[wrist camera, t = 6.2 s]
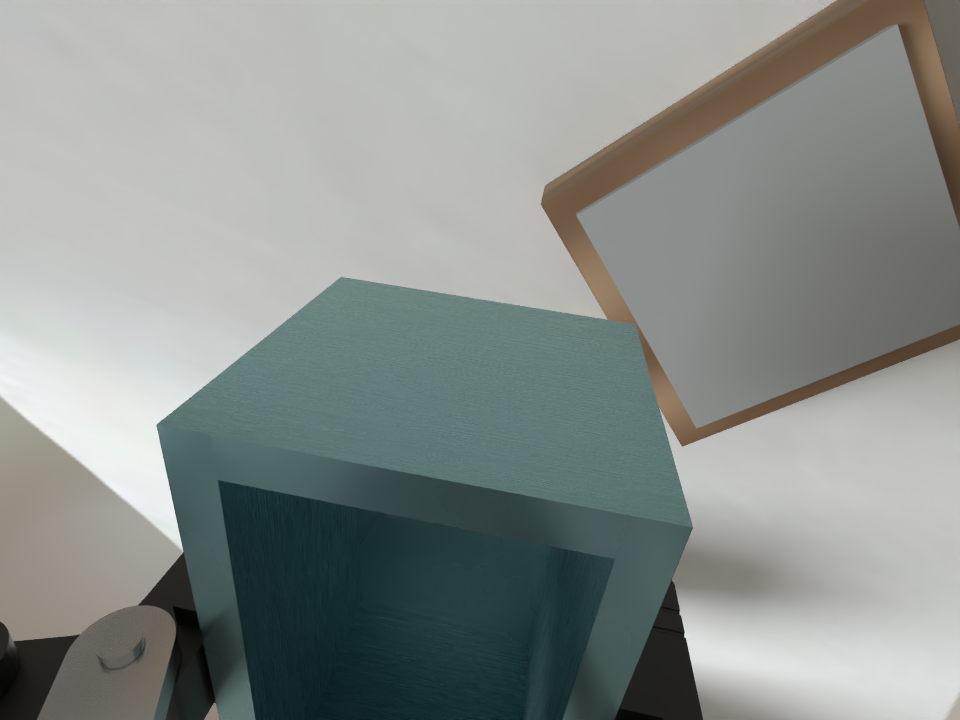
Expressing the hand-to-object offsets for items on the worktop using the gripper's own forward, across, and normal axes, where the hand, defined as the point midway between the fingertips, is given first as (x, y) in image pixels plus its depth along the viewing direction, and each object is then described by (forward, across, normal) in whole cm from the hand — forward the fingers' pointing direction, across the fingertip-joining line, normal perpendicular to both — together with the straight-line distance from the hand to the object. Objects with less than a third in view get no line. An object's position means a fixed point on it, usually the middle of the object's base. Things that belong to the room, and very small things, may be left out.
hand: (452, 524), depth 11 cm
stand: (+18, -10, -3) cm, 21 cm away
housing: (+1, 0, 0) cm, 1 cm away
